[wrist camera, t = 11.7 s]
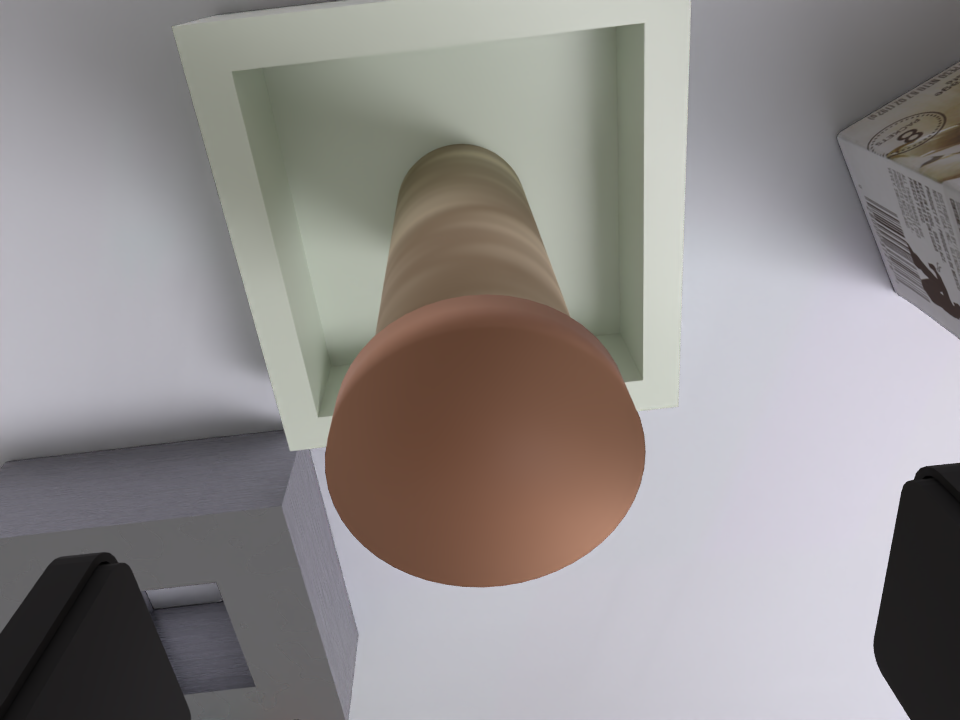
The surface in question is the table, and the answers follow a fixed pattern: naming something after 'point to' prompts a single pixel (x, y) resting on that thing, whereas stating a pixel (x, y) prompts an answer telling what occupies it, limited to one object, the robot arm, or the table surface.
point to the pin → (479, 395)
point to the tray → (434, 124)
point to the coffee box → (914, 191)
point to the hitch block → (202, 563)
